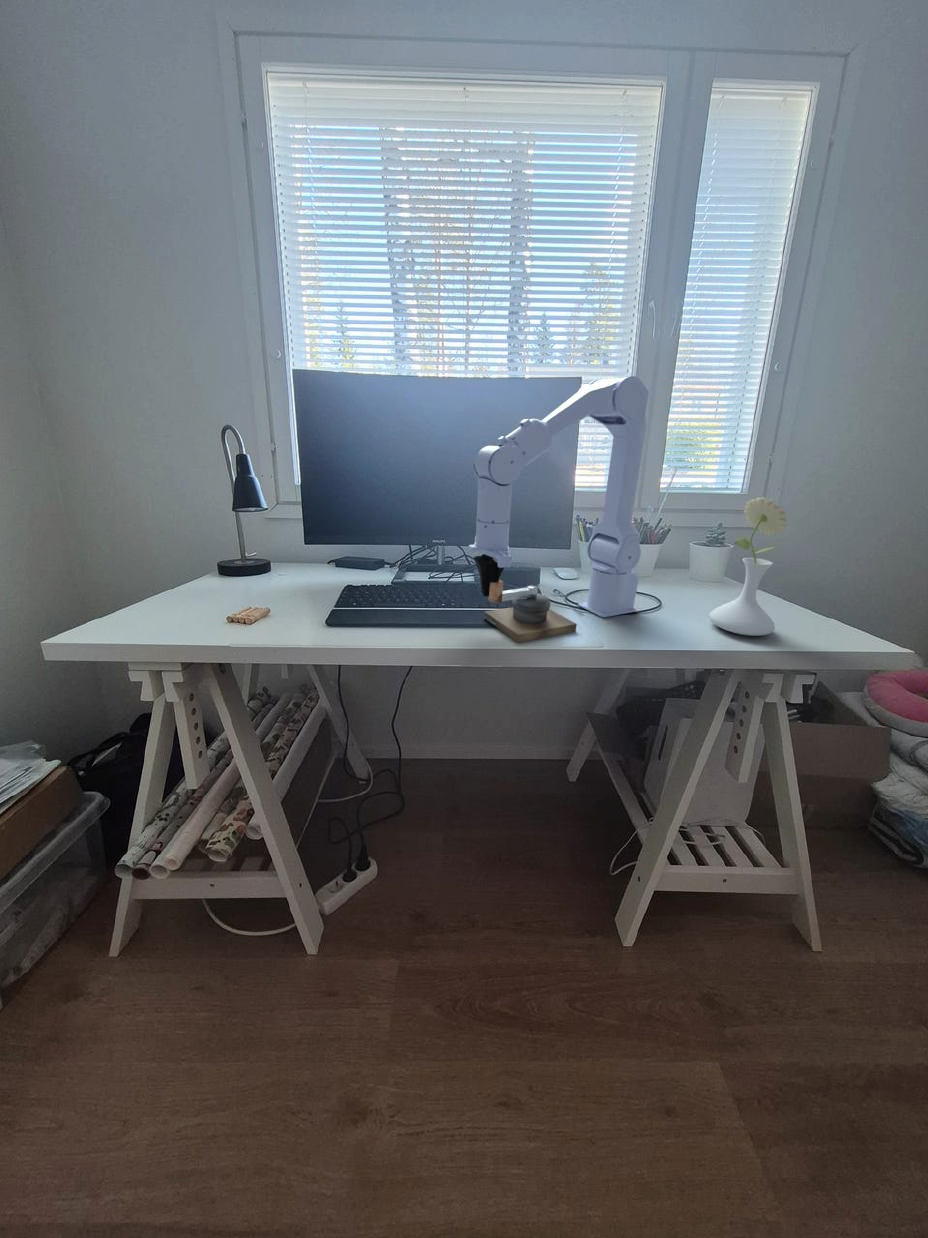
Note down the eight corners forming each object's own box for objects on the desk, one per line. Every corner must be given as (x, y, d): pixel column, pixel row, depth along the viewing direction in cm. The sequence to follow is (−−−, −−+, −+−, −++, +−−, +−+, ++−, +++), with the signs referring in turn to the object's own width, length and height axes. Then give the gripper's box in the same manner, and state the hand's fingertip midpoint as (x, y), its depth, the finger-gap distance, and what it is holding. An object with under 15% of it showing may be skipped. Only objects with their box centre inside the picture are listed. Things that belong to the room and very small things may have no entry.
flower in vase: (786, 641, 87) (830, 505, 78) (727, 641, 86) (765, 502, 77) (743, 616, 99) (777, 494, 90) (691, 615, 99) (720, 492, 89)
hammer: (532, 594, 89) (534, 574, 88) (539, 598, 87) (541, 578, 86) (486, 601, 85) (487, 580, 83) (492, 605, 83) (494, 584, 81)
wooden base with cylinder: (538, 610, 98) (540, 584, 96) (575, 631, 88) (579, 603, 86) (483, 618, 92) (485, 592, 90) (517, 642, 82) (520, 613, 80)
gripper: (459, 513, 86) (457, 583, 91) (483, 529, 73) (479, 610, 78) (496, 513, 88) (492, 582, 93) (525, 528, 75) (518, 608, 80)
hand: (488, 595), depth 86 cm, fingers closed
